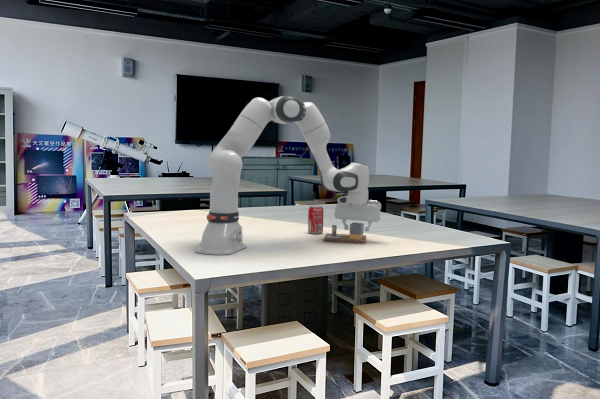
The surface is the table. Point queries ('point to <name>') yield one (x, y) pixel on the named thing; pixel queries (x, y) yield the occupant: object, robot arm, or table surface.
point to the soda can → (315, 219)
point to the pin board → (342, 237)
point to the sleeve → (356, 230)
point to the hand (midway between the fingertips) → (356, 230)
